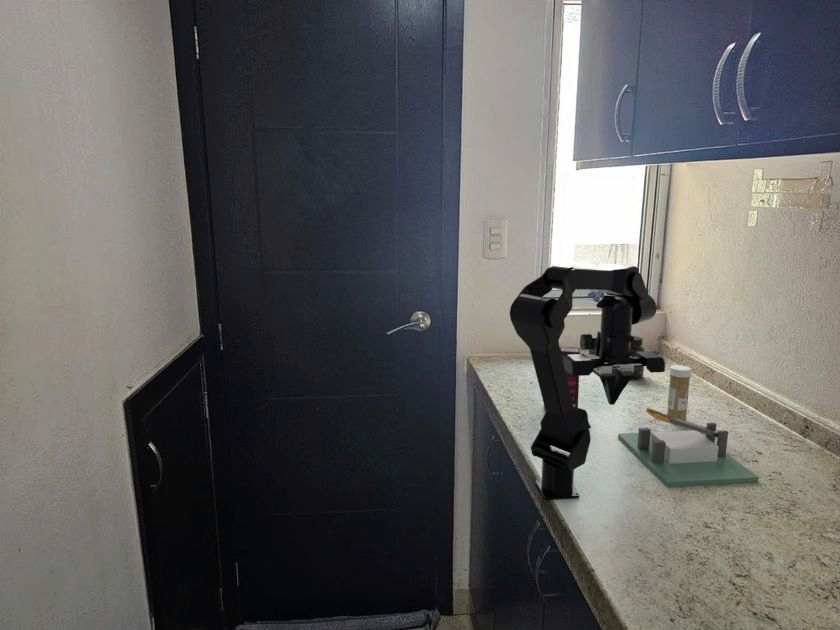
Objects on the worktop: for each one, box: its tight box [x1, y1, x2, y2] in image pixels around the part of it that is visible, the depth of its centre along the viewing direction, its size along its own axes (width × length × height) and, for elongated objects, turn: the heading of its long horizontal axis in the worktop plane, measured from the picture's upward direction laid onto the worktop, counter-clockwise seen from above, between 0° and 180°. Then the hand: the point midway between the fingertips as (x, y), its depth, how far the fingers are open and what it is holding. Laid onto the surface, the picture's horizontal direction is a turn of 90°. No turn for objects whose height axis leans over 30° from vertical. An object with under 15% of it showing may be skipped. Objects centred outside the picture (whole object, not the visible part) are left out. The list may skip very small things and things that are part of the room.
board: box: [617, 422, 760, 488], centre depth 118 cm, size 22×18×6 cm
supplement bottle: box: [630, 335, 646, 381], centre depth 169 cm, size 7×7×12 cm
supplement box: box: [543, 346, 581, 411], centre depth 145 cm, size 9×5×16 cm, turn 74°
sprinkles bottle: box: [666, 364, 692, 421], centre depth 137 cm, size 5×5×14 cm
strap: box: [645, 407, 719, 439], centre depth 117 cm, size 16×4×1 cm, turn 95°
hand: (611, 404), depth 115 cm, fingers closed
